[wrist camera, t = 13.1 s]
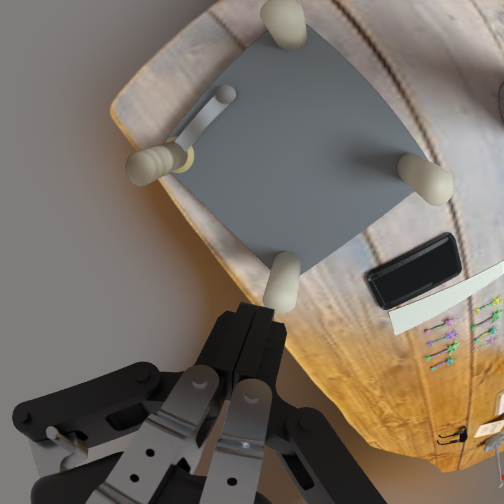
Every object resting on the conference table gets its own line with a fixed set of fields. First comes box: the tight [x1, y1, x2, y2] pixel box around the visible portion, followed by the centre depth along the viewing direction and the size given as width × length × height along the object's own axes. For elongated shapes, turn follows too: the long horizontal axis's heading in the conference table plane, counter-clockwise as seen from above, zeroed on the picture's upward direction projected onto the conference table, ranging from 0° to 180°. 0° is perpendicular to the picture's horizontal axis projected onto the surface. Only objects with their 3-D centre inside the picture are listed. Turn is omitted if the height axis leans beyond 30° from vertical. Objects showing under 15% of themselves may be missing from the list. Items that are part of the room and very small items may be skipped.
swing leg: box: [126, 85, 237, 186], centre depth 26 cm, size 13×4×8 cm, turn 135°
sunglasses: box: [437, 426, 468, 445], centre depth 57 cm, size 10×12×5 cm
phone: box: [367, 233, 462, 310], centre depth 35 cm, size 8×1×15 cm
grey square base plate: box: [163, 0, 454, 314], centre depth 27 cm, size 25×25×11 cm
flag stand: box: [484, 432, 504, 487], centre depth 47 cm, size 13×13×30 cm
